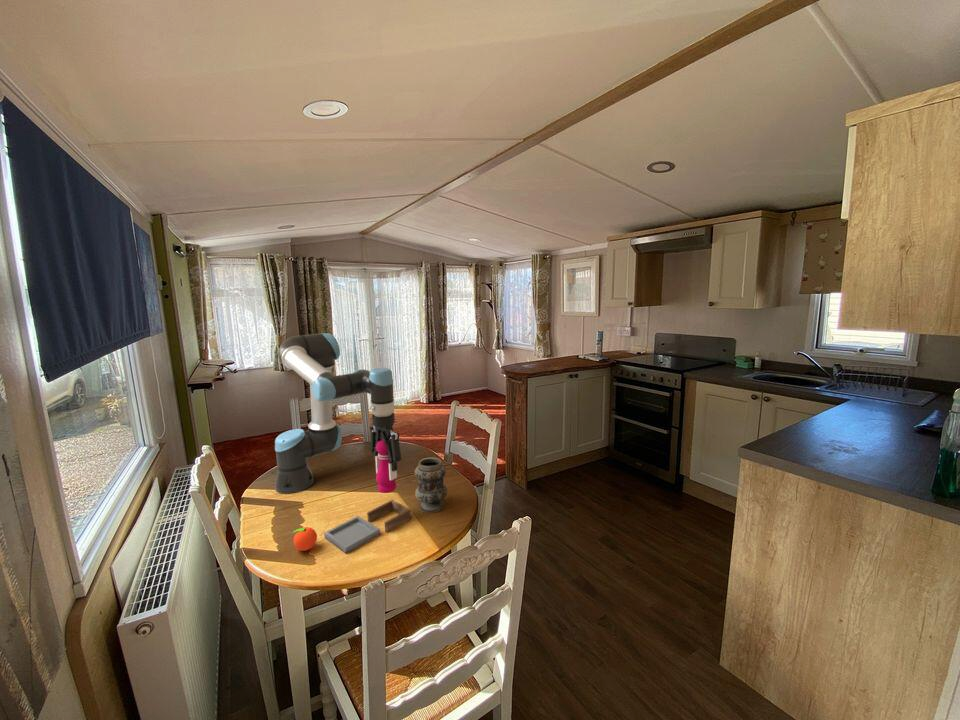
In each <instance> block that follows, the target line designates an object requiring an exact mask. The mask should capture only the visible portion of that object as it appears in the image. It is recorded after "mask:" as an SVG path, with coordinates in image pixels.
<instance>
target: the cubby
mask: <svg viewBox="0 0 960 720" xmlns="http://www.w3.org/2000/svg"><path fill="white" fill-rule="evenodd" d="M391 511H392V512H394V513H396V514H397V515H394V516H393V517H391V518H390V519H388V520H385V521H384V532H385V533H388V532H390V531H393V530H394V529H396V528H397V527H400V526H401V525H403V524H405V523H406V522H408V521H410V520H411V519H412V508H409V507H407V506H405V505H403V504H401V503H399V502H398V501H395V500H394V499H391V500H389V501H387V502H385V503H383V504H381V505H379V506H377V507H375V508H373V509H371V510H369V511H367V513H366V515H367V521H368V522H369V523H371V522H373V521H375V520H377V519H379V518H380V517H382V516H384V515H386V514H388V513H390V512H391Z"/></svg>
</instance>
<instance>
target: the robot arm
mask: <svg viewBox="0 0 960 720" xmlns="http://www.w3.org/2000/svg"><path fill="white" fill-rule="evenodd" d="M277 355H278V359H279V362H280V363H281V365H283V366H284V367H285V368H287V369H289V370H293V371H294V372H295V373H296V374H297V375H299V377H301V378H302V379H303V380H304V381H305V382H307V383H308V384H309V391H310V392H309V393H310V394H309V395H310V410H311V412H310V416H311V417H310V418H311V421H310V422H309V423H308V425H307V430H304V429H302V428H296V429H289V430H287V431H284V432H281V433H280V434H278V436H277V437H276V438H275V440H274V451H275V457H276V465H277V466H276V467H277V473H276V477H275V478H276V479H275V480H274V481H275V482H274V488H275V491H276V492H277V493H279V494H292V493H293V494H294V493H299V492H301V491H304V490H307V489H308V488H310V487H312V485H313V484H314V482H315V480H314V475H313V473H312V471H311V468H310V466H309V463H308V459H309V458H313V457H317V456H319V455H323V454H326V453H331V452H333V451H335V450H337V449H339V447H340V446H341V444H342V439H343V433H342V429H341V427H340V425H339V424H338V423H337V422H336V421H335V420H334V419H333V400H336V399H340V398H346V397H350V396H354V395H355V396H356V395H359V394H363V393H366V394H370V402H371V414H372V415H371V421H372V426H369V432H370V453H373V456H374V461H375V462H374V463H375V474H376V475H377V472H378V469H379V467H380V459H379V458H378V452H377V450H376V445H377V443H378V442H379V441H380V440H382V439H383V441H384V444H386V447H387V451H388V455H389V459H390V462H389V479H390V480H393V479H395V478H397V479H398V471H397V470H398V462H400V461H401V460H402V455H401V445H400V433H399V432H394V427H393V425H394V424H395V423H396V422H395V421H396V420H395V419H396V418H395V413H394V412H395V400H394V398H395V397H394V378H393V371H392V370H391V369H390V368H386V367H379V368H372V369H371V370H367V369H357V370H354V371H353V372H352V373H347V374H346V373H345V374H340V375H335V374H334V373H333V372H332V368H334V366H335V360H338V359H339V358H340V355H341V349H340V345H339V341H338V340H337V339H336V337H335V336H334V335H333V334H331V333H329V332H327V333H325V332H321V333H320V332H318V333H313V334H312V333H310V334H302V335H301V334H300V335H293V336H291V337H288V338H287V339H285V340H284V341H283V342H282V343H281V344H280V346H279V349H278V352H277ZM387 440H388V441H387Z"/></svg>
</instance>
